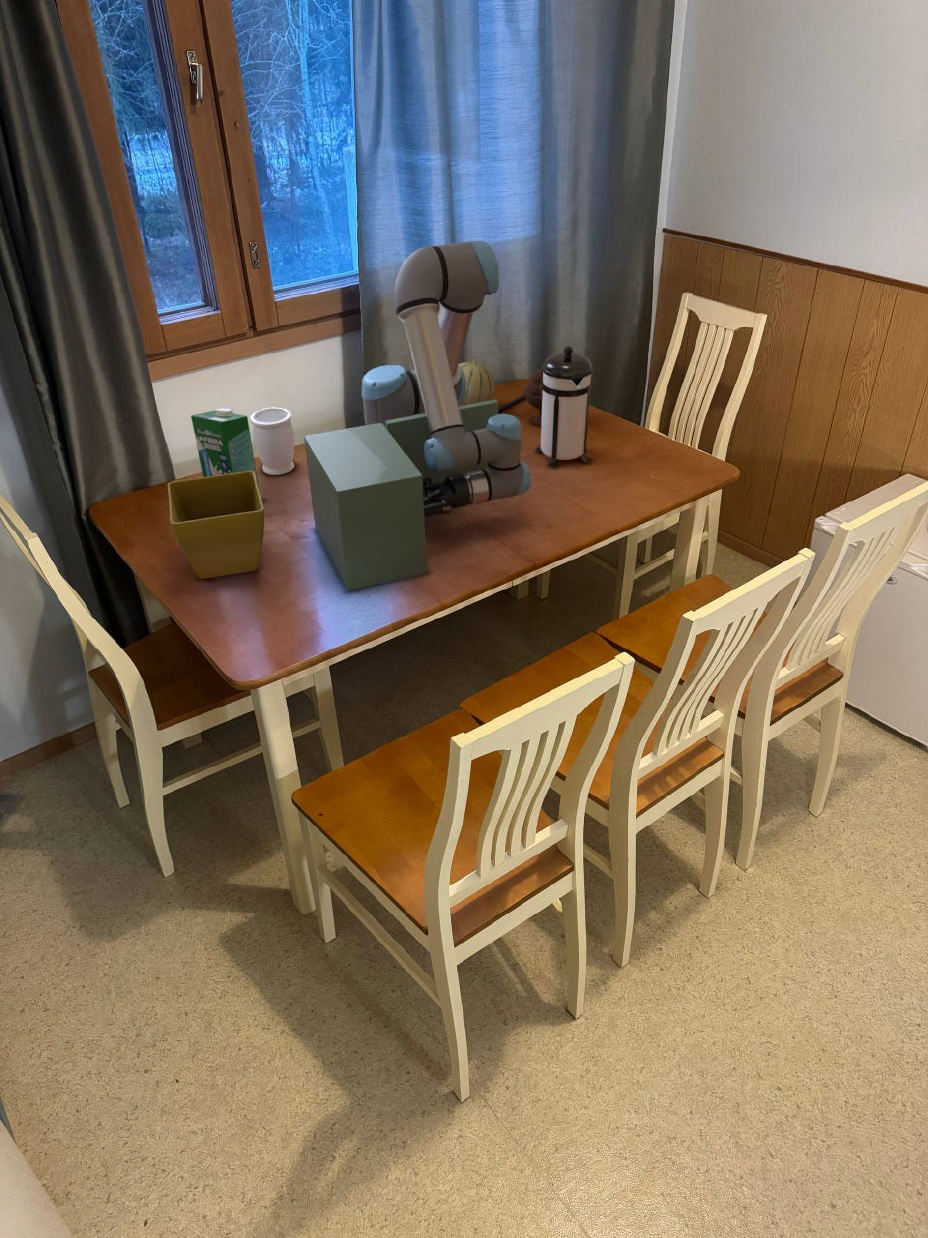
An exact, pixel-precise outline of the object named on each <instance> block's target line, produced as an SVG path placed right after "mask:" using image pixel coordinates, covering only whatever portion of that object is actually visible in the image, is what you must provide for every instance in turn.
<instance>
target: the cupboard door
mask: <svg viewBox="0 0 928 1238" xmlns="http://www.w3.org/2000/svg"><path fill="white" fill-rule="evenodd" d="M498 408H499V401H498V400H497V399H494V398H493V399H492V400H489V401H484V402H479V403H474V404H469V405H464V406H459V409H460V413H461V417H462V421H463V426H464V430H465V432H469V431H475V430H480V429H485V428H487V425H488V420H489V418H491V417H493V416H494V415H497V414H499V412H498ZM385 427H386V429H387V430H388V432H389V433H390V434H391V436H392V437H393V438H394V439H395V441H396V442H397V443H398V445H399V446H400V447H401V448H402V450H403V451H404V452H405V454H406V455H407V456H408V457H409V459H410V460H411V461H412V463H413V464H414V465H415V466H416V468H417V469H418V470H419V472H420V473H421V474H422V478H423V479H425V478H428V477H430V478H431V482H433V483H443V482H444V481H445V478H446V477H447V476H450V475H455V474H462V475H463V473H465V472H470V471H475V470H481V469H485V468H488V463H483V464H478V465H473V466H468V467H463V468H459V469H454V470H453V471H451V470H449V471H442V472H433V471H432V470H431V469H430V468H429V467H428V465H427V462H426V459H425V451H424V445H425V442H426V441H427V440H429V439H431V432H430V428H429V424H428V420H427V416H426V413H423V414H418V415H413V416H408V417H402V418H397V419H392V420H387V421H385ZM424 496H425V491H424Z"/></svg>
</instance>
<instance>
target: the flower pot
mask: <svg viewBox="0 0 928 1238" xmlns="http://www.w3.org/2000/svg"><path fill="white" fill-rule="evenodd" d="M258 485H259V483H258V484H257V480H256V475H255V472H254V471H244V472H237V473H230V474H223V475H216V476H209V477H203V476H201V477H195V478H187V479H181V480H173V481H170V482H168V483H167V492H168V493H167V494H168V502H169V503H168V504H169V515H170V516H169V517H170V518H169V519H170V524H171V527H172V530H173V533H174V535H175V537H176V539H177V541H178V544H179V546H180V548H181V550H182V552H183V554H184V556H185V557H186V560H187V561H188V563H189V565H190V566H191V568H192V570H193V571H194V572H195V574H196V575H197V577H198V578H199V579H201V580H206V579H207V580H208V579H213V578H218V577H224V576H231V575H237V574H243V573H249V572H255V571H257V570H258V569H259V566H260V565H259V564H260V562H261V557H262V551H263V550H262V549H263V543H264V533H265V509H264V504H263V501H262V496H261V491H260V487H259V488H258ZM259 491H260V492H259Z"/></svg>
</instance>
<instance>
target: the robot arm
mask: <svg viewBox="0 0 928 1238" xmlns="http://www.w3.org/2000/svg"><path fill="white" fill-rule="evenodd" d="M499 287H500V271H499V265H498V260H497V258H496V255H495V252H494V250H493V247H491V245H490V244H489V242H487V241H484V240H468V241H461V242H454V243H447V244H446V243H445V244H440V245H433V246H430V245H429V246H423V247H421V248H417V249H416V250H414V251H413V252H412V253H410V254H409V255H408V256H407V257H406V259H405V260H404V261H403V263H402V264H401V267H400V269H399V271H398V274H397V276H396V280H395V285H394V291H393V299H394V300H393V301H394V308H395V313H396V316H397V319H398V320H399V321H400V322H402V323H403V327H404V331H405V335H406V338H407V339H406V340H407V343H408V346H409V347H408V348H409V351H410V355H411V358H412V364H413V366H414V369H408V370H406V368H405V367H404V366H401V365H398V364H393V365H391V364H385V365H381V366H377V367H375V368H372V369H371V370H369V371H368V372H367V373H366V374H364V376H363V378H362V379H361V397H362V406H363V417H364V426H365V425H371V424H376V423H382V424H383V425H384V427H385V421H387V420H392V419H397V418H402V417H408V416H413V415H418V414H423V413H426V416H427V420H428V424H429V428H430V432H431V439H429V440H427V441H426V442H425V445H424V451H425V459H426V462H427V465H428V467H429V468H430V469H431V470H432V471H433V472H442V471H449V470H451V471H453V470H454V469H459V468H463V467H468V466H473V465H478V464H483V463H488V468H485V469H481V470H475V471H470V472H465V473H463V475H462V474H455V475H450V476H447V477H446V478H445V481H444V482H443V483H433V482H431V478H430V477H428V478H425V479H422V480H423V500H424V519H426V518H430V517H434V516H437V515H444V514H450V513H451V512H452V510H451V508H452V509H460V508H464V507H467V506H469V505H470V506H472V505H479V504H482V503H486V502H491V501H496V500H503V499H507V498H514V497H516V496H520V495H523V494H526V493H528V492H529V491H530V489H531V486H532V477H531V471H530V468H529V466H528V464H526V462H525V461H521V453H522V452H521V451H522V439H523V438H522V424H521V423H522V422H521V421H520V419H519V418H518V417H517V416H516V415H513V414H508V413H499V412H501V411H503V410H506V409H507V408H510V407H511V406H513V405H515V404H517V403H519V402H520V401H522V400H524V399H526V398H525V396H524V394H522V395H521V396H519V397H517V398H515V399H513V400H511V401H509V402H508V403H505V404H503V405H502V406H500V407H499V406H498V414H497V415H494V416H493V417H491V418H489V420H488V425H487V428H485V429H480V430H475V431H469V432H465V430H464V426H463V421H462V417H461V413H460V409H459V405H460V404H461V403H462V402H463V400H464V397H465V393H466V388H465V386H466V379H465V375H464V372H463V370H462V368H461V367H460V365H459V364H460V360H461V357H462V353H463V350H464V346H465V342H466V340H467V336H468V332H469V329H470V326H471V322H472V319H473V315H474V313H475V312H477V311H478V310H479V309H480V308H481V307H482V306H483V303H484V300H485V297H486V296H492V295H494V294H496V293H497V292H498V290H499ZM385 428H386V427H385ZM424 491H425V496H424Z"/></svg>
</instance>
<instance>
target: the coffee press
mask: <svg viewBox="0 0 928 1238" xmlns="http://www.w3.org/2000/svg"><path fill="white" fill-rule="evenodd" d="M541 369H542V371H543V380H542V389H543V396H542V423H541V426H540V443H539V445H538V446H537V447H536V452H537V453H543V454H544V455H545V456H546V457H548V458H550V460H549V467H552V468H556V466H557V463H558V461H559V460H560V461H568V460H574V459H577V458H580V460H581V461H582V462H583V463H588V462H589V460H590V457H591V456H590V455H589V453H588V451H587V441H588V423H589V412H590V411H589V410H590V399H591V398H590V394H591V393H590V391H591V389H592V380H591V379H592V374H593V370H594V367H593V365H592V363H591V360H590V359H589V358H588V357H586V356H585V355H583V354H580V353H577V352H574V350H573V348H572V347H571V346H566V347H565V348H564V349H563V352H557V353H553V354H551V355H550V356H548V357H547V358H546V359H545V361H544V363H542V365H541ZM583 455H584V456H585V457H584V456H583Z"/></svg>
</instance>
